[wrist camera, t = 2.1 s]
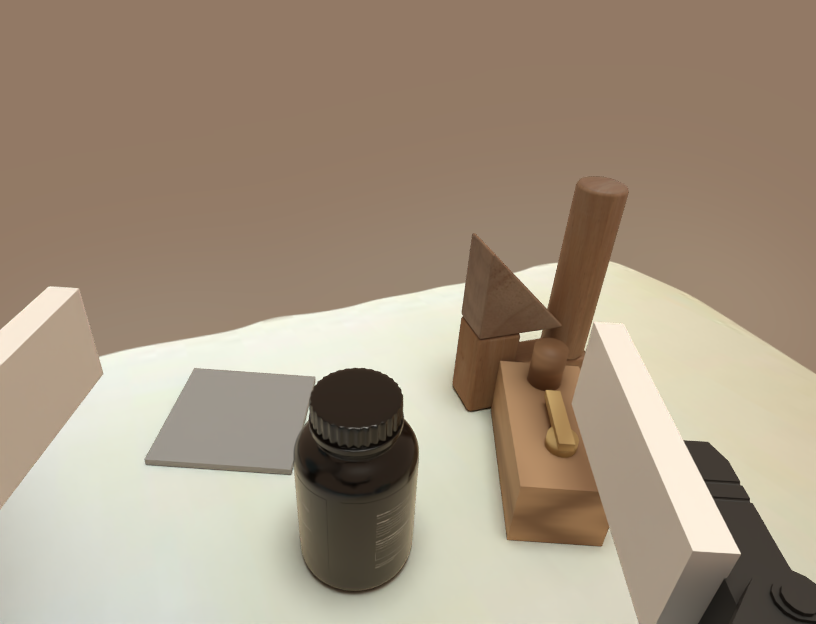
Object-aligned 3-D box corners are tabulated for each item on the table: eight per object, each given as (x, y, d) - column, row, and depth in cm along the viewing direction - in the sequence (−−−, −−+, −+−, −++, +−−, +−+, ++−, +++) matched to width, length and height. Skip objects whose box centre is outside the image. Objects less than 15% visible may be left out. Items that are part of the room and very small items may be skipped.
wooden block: (450, 384, 49) (477, 180, 40) (560, 365, 53) (611, 172, 43) (467, 414, 46) (502, 201, 37) (583, 391, 50) (642, 191, 40)
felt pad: (145, 464, 40) (144, 459, 40) (195, 372, 48) (194, 368, 48) (291, 474, 40) (290, 469, 40) (315, 381, 49) (315, 376, 48)
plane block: (507, 539, 37) (529, 449, 33) (490, 410, 47) (506, 328, 43) (601, 546, 37) (636, 457, 33) (565, 415, 47) (587, 334, 43)
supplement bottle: (396, 490, 40) (407, 349, 33) (424, 582, 34) (443, 434, 28) (293, 508, 38) (284, 362, 31) (305, 607, 32) (297, 455, 26)
